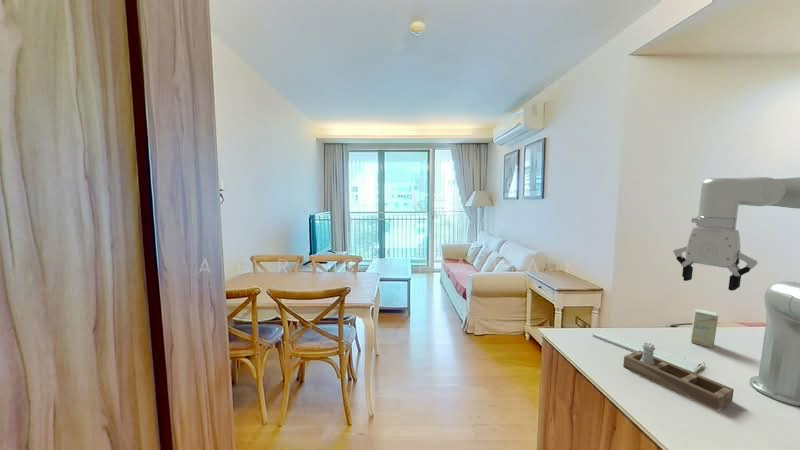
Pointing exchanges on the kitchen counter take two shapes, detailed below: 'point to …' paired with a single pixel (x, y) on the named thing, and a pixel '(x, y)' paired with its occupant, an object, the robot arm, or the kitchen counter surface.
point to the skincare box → (704, 327)
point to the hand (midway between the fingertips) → (708, 284)
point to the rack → (681, 381)
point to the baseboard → (637, 346)
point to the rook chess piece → (648, 354)
